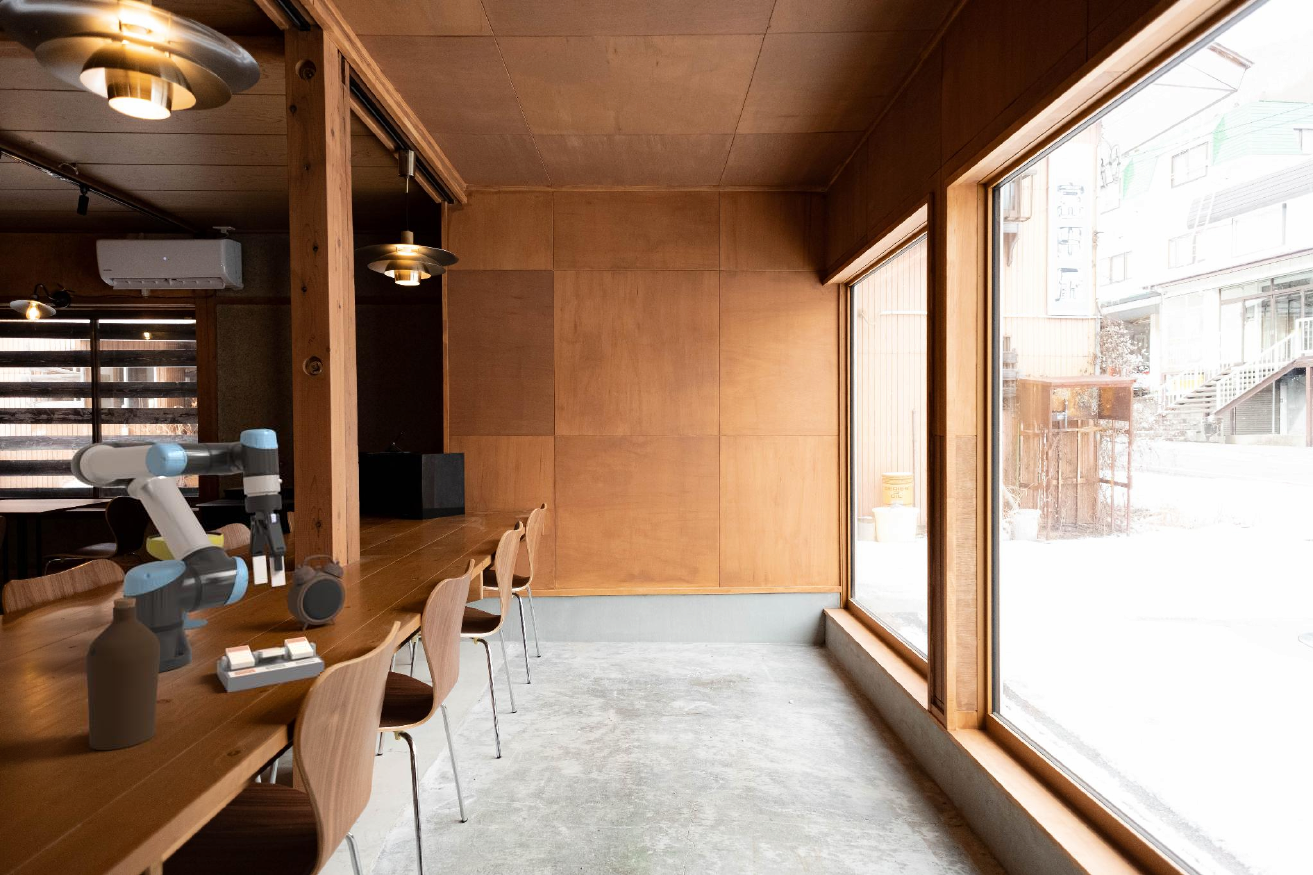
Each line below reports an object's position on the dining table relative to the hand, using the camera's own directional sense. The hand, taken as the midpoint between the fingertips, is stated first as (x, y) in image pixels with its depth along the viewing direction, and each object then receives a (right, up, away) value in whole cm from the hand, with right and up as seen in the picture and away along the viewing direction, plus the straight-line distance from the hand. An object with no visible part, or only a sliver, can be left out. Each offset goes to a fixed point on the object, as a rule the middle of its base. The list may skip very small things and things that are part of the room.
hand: (269, 584), depth 171 cm
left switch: (-1, -14, -10) cm, 17 cm away
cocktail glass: (-40, -18, +31) cm, 54 cm away
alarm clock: (-4, -19, +33) cm, 38 cm away
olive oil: (-4, -19, -42) cm, 46 cm away
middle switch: (+4, -14, -7) cm, 16 cm away
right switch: (+8, -14, -3) cm, 17 cm away
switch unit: (+4, -19, -7) cm, 21 cm away
